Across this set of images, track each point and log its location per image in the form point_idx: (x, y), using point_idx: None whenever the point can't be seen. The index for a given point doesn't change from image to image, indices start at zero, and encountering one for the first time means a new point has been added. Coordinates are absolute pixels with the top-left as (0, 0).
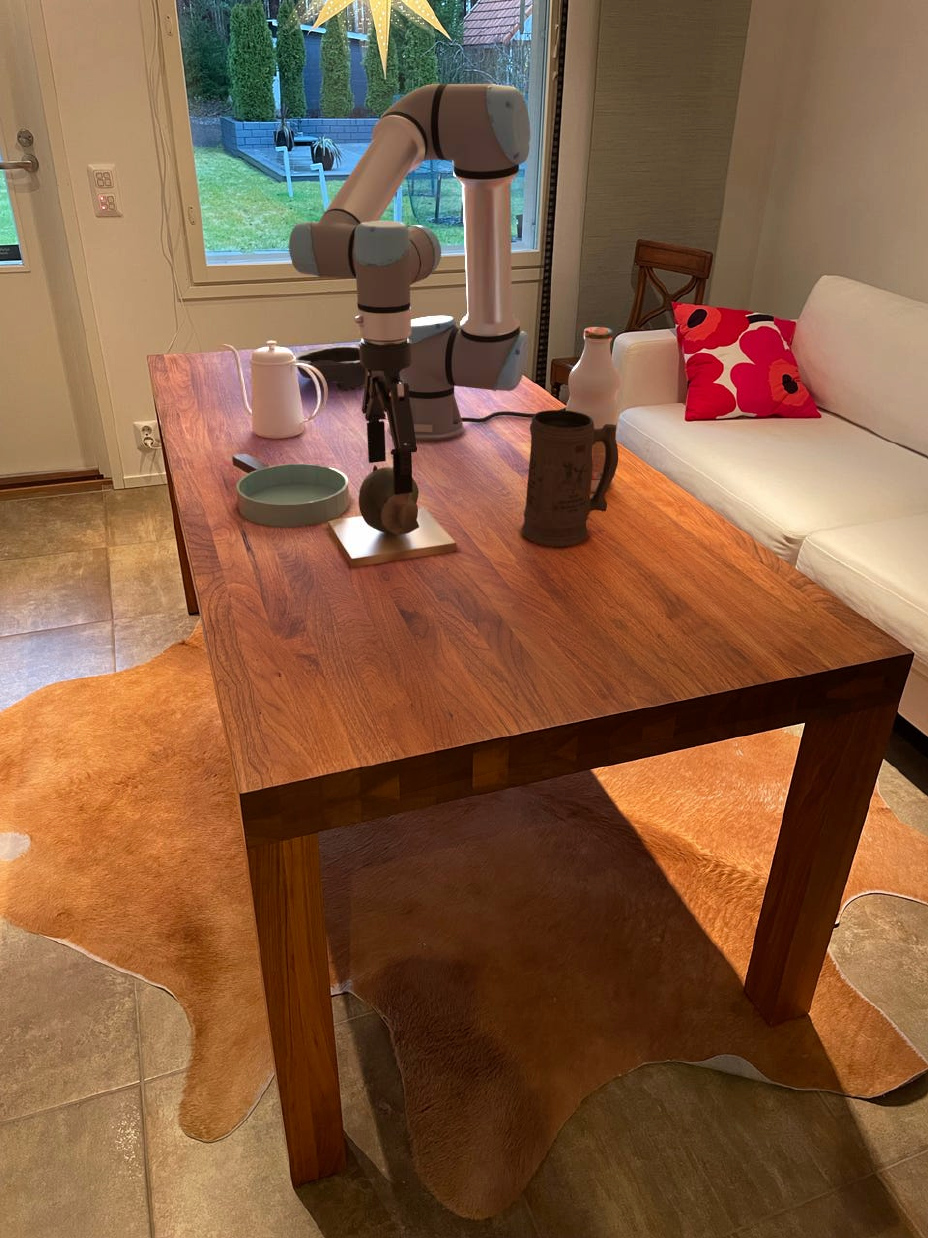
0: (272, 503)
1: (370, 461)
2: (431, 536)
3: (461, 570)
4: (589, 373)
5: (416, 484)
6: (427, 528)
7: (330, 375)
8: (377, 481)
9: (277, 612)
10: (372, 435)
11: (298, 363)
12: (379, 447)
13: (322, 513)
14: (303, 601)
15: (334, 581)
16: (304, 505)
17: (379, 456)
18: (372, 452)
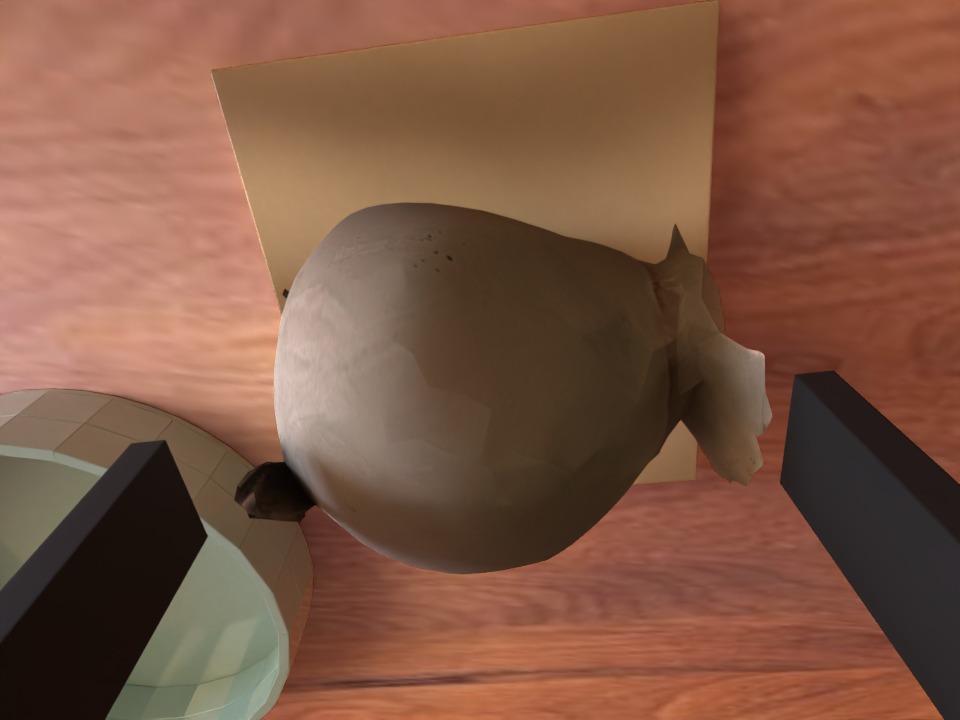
0: (274, 693)
1: (203, 541)
2: (599, 124)
3: (912, 33)
4: None
5: (464, 239)
6: (498, 123)
7: None
8: (558, 543)
9: (868, 649)
10: (77, 715)
11: None
12: (124, 563)
13: (270, 520)
14: (842, 596)
15: (759, 515)
16: (284, 607)
17: (163, 507)
18: (165, 580)
